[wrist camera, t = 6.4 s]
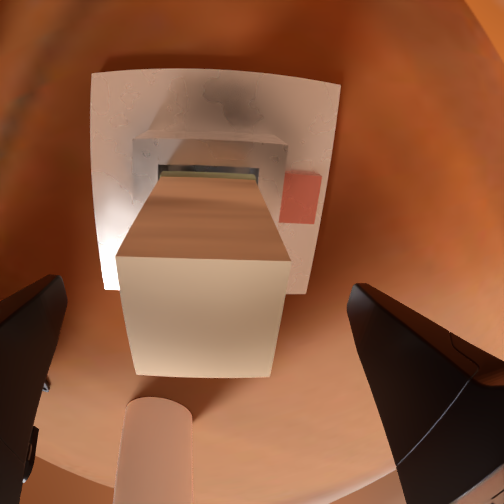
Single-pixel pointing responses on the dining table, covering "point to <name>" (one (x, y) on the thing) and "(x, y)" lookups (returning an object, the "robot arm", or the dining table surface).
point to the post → (203, 278)
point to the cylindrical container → (155, 454)
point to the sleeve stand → (212, 147)
